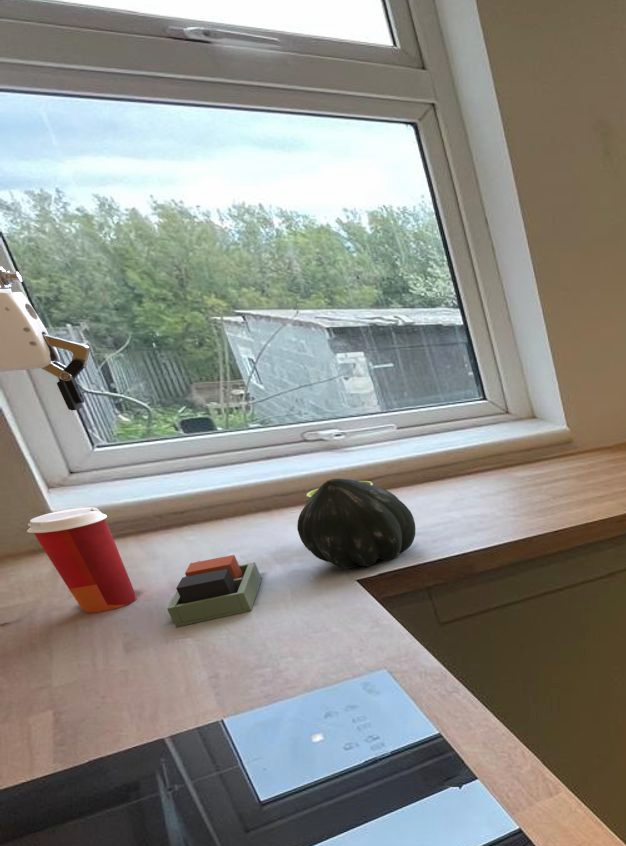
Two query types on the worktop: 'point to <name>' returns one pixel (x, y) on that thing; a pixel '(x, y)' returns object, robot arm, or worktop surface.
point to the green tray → (219, 600)
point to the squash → (355, 524)
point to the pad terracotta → (215, 566)
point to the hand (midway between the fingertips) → (26, 413)
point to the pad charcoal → (206, 586)
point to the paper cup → (85, 557)
